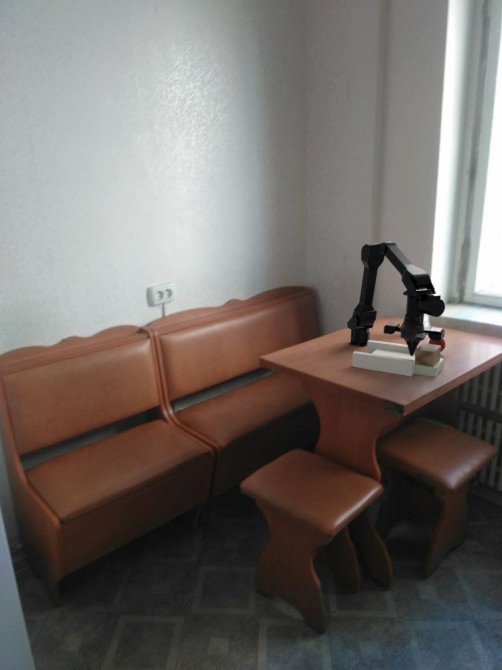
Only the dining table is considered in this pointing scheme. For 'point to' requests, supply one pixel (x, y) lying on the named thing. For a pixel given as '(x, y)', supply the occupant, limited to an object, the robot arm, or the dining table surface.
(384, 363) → the track
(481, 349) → the dining table surface
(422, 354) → the block
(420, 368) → the pad
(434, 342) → the onion
